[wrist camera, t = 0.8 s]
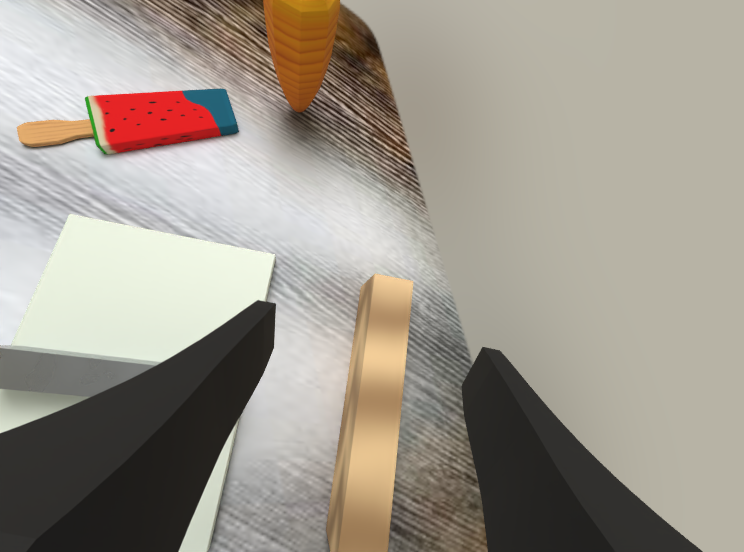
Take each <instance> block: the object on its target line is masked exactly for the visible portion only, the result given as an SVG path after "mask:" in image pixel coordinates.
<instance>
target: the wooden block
mask: <svg viewBox="0 0 744 552" xmlns="http://www.w3.org/2000/svg"><path fill="white" fill-rule="evenodd" d="M412 290H413V281H409V280H404V279H399V278H394V277H389V276H384V275H379V274H374V275H373V276H372V277H371V278H370V279H369V280H368V281H367V282H366V283H365V284H363V285H362V286H361V290H360V297H359V304H358V311H357V318H356V325H355V332H354V339H353V346H352V353H351V360H350V367H349V374H348V380H347V387H346V394H345V401H344V408H343V415H342V422H341V429H340V436H339V443H338V450H337V457H336V464H335V471H334V477H333V484H332V491H331V498H330V505H329V512H328V519H327V526H326V532H327V537H328V542H329V547H330V552H388V542H389V531H390V521H391V510H392V500H393V489H394V479H395V468H396V458H397V447H398V437H399V426H400V416H401V405H402V395H403V384H404V374H405V363H406V353H407V342H408V332H409V321H410V311H411V300H412Z"/></svg>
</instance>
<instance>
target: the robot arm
mask: <svg viewBox="0 0 744 552" xmlns="http://www.w3.org/2000/svg"><path fill="white" fill-rule="evenodd" d="M275 311H276V304H275V303H270V302H265V301H260V300H257V301H255V302H254V303H252V304H251V305H250V306H248V307H247V308H245V309H244V310H243V311H241V312H240V313H238V314H237V315H236V316H234V317H233V318H231V319H230V320H228V321H227V322H226V323H224V324H223V325H221V326H220V327H218V328H217V329H215V330H214V331H212V332H211V333H209V334H208V335H206V336H205V337H203V338H202V339H200V340H198V341H197V342H195V343H194V344H192V345H190V346H189V347H187V348H185V349H184V350H182V351H180V352H179V353H177V354H175V355H174V356H172V357H170V358H169V359H167V360H165V361H163V362H161V363H160V364H158V365H156V366H154V367H152V368H150V369H148V370H147V371H145V372H143V373H141V374H139V375H137V376H135V377H133V378H131V379H129V380H127V381H125V382H123V383H120V384H118V385H116V386H114V387H112V388H109V389H107V390H105V391H103V392H101V393H98V394H96V395H94V396H92V397H90V398H87V399H85V400H83V401H81V402H78V403H76V404H74V405H71V406H69V407H66V408H64V409H62V410H59V411H57V412H54V413H52V414H49V415H47V416H44V417H42V418H39V419H37V420H34V421H31V422H29V423H26V424H24V425H21V426H18V427H16V428H13V429H10V430H8V431H5V432H2V433H0V552H179V549H180V547H181V544H182V542H183V539H184V537H185V535H186V532H187V530H188V527H189V525H190V522H191V520H192V518H193V515H194V513H195V511H196V508H197V506H198V504H199V501H200V499H201V497H202V494H203V492H204V489H205V487H206V485H207V483H208V480H209V478H210V476H211V474H212V471H213V469H214V467H215V464H216V462H217V460H218V458H219V455H220V453H221V451H222V449H223V447H224V445H225V443H226V441H227V439H228V437H229V435H230V434H231V432H232V430H233V428H234V426H235V425H236V423H237V421H238V419H239V417H240V415H241V414H242V412H243V410H244V408H245V406H246V405H247V403H248V401H249V399H250V397H251V396H252V394H253V392H254V390H255V388H256V386H257V385H258V383H259V381H260V379H261V377H262V375H263V373H264V371H265V368H266V366H267V364H268V361H269V359H270V356H271V354H272V351H273V349H274V334H275ZM462 398H463V409H464V417H465V422H466V427H467V432H468V436H469V441H470V446H471V450H472V455H473V459H474V464H475V468H476V473H477V478H478V482H479V487H480V493H481V498H482V505H483V513H484V521H485V529H486V537H487V547H488V552H702V551H701V550H700V549H699V548H698V547H696V546H695V545H694V544H692V543H691V542H690V541H689V540H688V539H686V538H685V537H684V536H683V535H681V534H680V533H679V532H678V531H677V530H675V529H674V528H673V527H671V525H669V524H668V523H667V522H666V521H665V520H663V519H662V518H661V517H660V516H659V515H657V514H656V513H655V512H654V511H653V510H652V509H651V508H649V507H648V506H647V505H646V504H645V503H644V502H643V501H641V500H640V499H639V498H638V497H637V496H636V495H635V494H633V493H632V492H631V491H630V490H629V489H628V488H627V487H626V486H625V485H623V484H622V483H621V482H620V481H619V480H618V479H617V478H616V477H615V476H614V475H613V474H612V473H611V472H610V471H609V470H607V468H605V467H604V466H603V465H602V464H601V463H600V462H599V461H598V460H597V459H596V458H595V457H594V456H593V455H592V454H591V453H590V452H589V451H588V450H587V449H586V448H585V447H584V446H583V445H582V444H581V443H580V442H579V441H578V440H577V439H576V438H575V436H574V435H573V434H572V433H571V432H570V431H569V430H568V429H567V428H566V427H565V426H564V425H563V424H562V422H560V420H559V419H558V418H557V417H556V416H555V415H554V414H553V413H552V411H551V410H550V409H549V408H548V407H547V406H546V404H545V403H544V402H543V401H542V400H541V399H540V397H539V396H538V395H537V394H536V393H535V392H534V390H533V389H532V388H531V387H530V386H529V385H528V383H527V382H526V381H525V380H524V378H523V377H522V376H521V375H520V374H519V372H518V371H517V370H516V369H515V368H514V366H513V365H512V364H511V363H510V362H509V360H508V359H507V358H506V357H505V356H504V355H503V354H502V352H501V351H500V350H495V349H490V348H485V347H482V349H481V351H480V353H479V355H478V356H477V358H476V360H475V362H474V364H473V366H472V368H471V369H470V371H469V373H468V375H467V377H466V379H465V381H464V382H463V384H462Z"/></svg>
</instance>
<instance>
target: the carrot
mask: <svg viewBox="0 0 744 552" xmlns="http://www.w3.org/2000/svg"><path fill="white" fill-rule="evenodd" d="M263 2H264V12H265V21H266V28H267V35H268V43H269V48H270V52H271V56H272V60H273V64H274V67H275V70H276V74H277V77H278V80H279V83H280V85H281V87H282V90H283V92H284V94H285V96H286V99H287V101H288V103H289V104H290V105H291V107H292V108H293V110H295V111H297V112H303V111H304V110H305V109H306V108H307V107H308V106H309V105H310V104H311V102H312V100H313V99H314V97H315V95H316V94H317V92H318V90H319V89H320V87H321V84H322V81H323V79H324V76H325V74H326V70H327V67H328V64H329V61H330V58H331V53H332V48H333V43H334V38H335V33H336V27H337V21H338V15H339V9H340V0H263Z"/></svg>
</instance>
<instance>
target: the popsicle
mask: <svg viewBox="0 0 744 552" xmlns="http://www.w3.org/2000/svg"><path fill="white" fill-rule="evenodd" d="M85 101H86V105H87V109H88V114H89V118H90V119H88V120H79V121H63V120H46V121H36V122H27V123H24V124H22V125H20V126H18V127H17V131H18V136H19V141H20V142H21V143H23V144H24V145H27V146H31V147H39V146H47V145H55V144H62V143H65V142H69V141H72V140H75V139H78V138H85V137H94V138H95V142H96V145H97V147H98V148H99V149H100V150H101V151H102V152H103V153H104V154H114V153H120V152H126V151H132V150H138V149H144V148H150V147H156V146H162V145H168V144H175V143H181V142H187V141H193V140H199V139H205V138H211V137H217V136H223V135H229V134H234V133H237V132H239V130H238V126H237V122H236V119H235V116H234V113H233V110H232V107H231V104H230V101H229V97H228V94H227V91H226V90H225V89H205V90H187V91H169V92H152V93H134V94H116V95H98V96H88V97H86V98H85Z"/></svg>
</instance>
